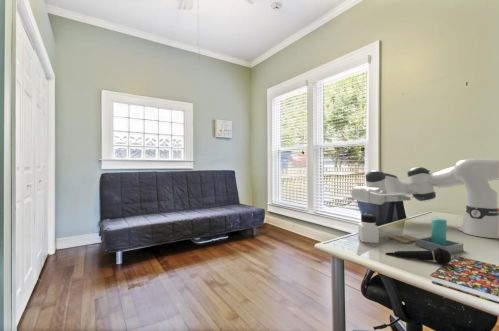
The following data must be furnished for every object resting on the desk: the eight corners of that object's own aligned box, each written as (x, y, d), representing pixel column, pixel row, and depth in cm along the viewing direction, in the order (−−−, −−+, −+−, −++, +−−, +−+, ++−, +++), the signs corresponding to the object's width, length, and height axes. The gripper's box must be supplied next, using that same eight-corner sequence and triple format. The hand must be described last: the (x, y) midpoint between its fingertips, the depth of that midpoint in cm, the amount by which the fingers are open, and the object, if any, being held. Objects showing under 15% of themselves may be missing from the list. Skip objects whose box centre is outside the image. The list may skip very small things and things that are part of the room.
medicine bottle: (379, 243, 108) (379, 216, 108) (361, 242, 109) (362, 215, 109) (374, 238, 115) (374, 213, 115) (358, 237, 116) (358, 212, 116)
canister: (435, 245, 106) (435, 218, 106) (448, 249, 101) (449, 220, 101) (428, 247, 104) (428, 218, 104) (441, 250, 99) (442, 221, 99)
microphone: (387, 264, 92) (453, 268, 83) (385, 251, 91) (452, 254, 82) (386, 255, 97) (448, 258, 88) (384, 243, 96) (447, 244, 87)
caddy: (431, 242, 110) (431, 236, 110) (463, 250, 100) (463, 243, 100) (415, 245, 105) (415, 239, 105) (446, 254, 95) (446, 247, 95)
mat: (404, 236, 120) (404, 234, 120) (421, 240, 112) (421, 239, 112) (388, 239, 115) (388, 237, 115) (405, 244, 107) (405, 242, 107)
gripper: (391, 200, 133) (417, 204, 120) (364, 202, 125) (389, 206, 112) (391, 189, 133) (417, 191, 120) (364, 190, 125) (389, 193, 112)
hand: (403, 199), depth 116 cm, fingers open, 8 cm apart
